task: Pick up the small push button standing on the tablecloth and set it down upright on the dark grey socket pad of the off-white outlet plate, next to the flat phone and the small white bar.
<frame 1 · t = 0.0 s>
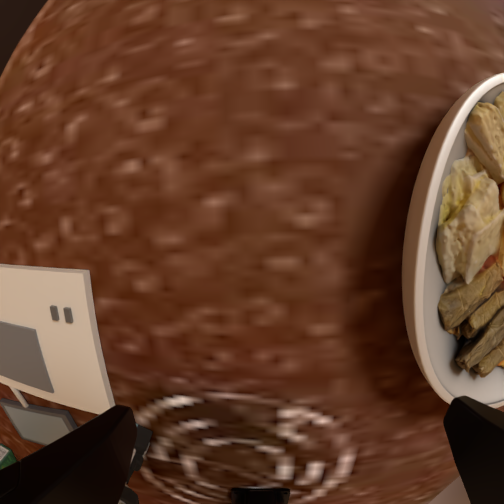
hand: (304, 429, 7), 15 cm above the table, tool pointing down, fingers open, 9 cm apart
phone slab: (43, 425, 26), on the table
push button: (134, 438, 25), on the table
outlet plate: (34, 336, 23), on the table
small white bar: (7, 373, 24), on the table
coffee box: (13, 458, 29), on the table
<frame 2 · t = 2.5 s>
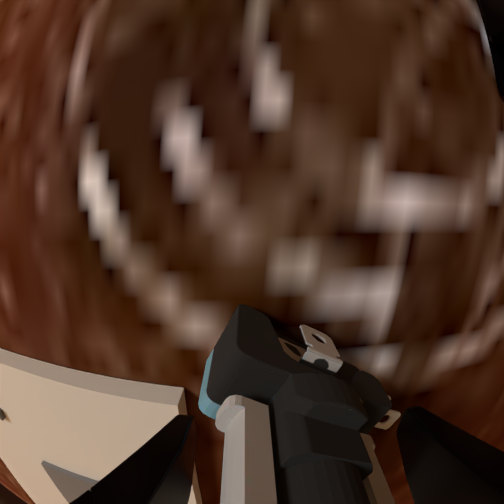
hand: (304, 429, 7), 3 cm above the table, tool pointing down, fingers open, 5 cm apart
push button: (304, 367, 9), on the table, touching gripper
outlet plate: (80, 472, 12), on the table
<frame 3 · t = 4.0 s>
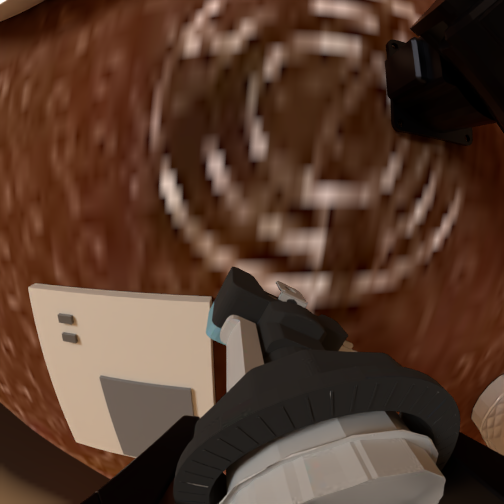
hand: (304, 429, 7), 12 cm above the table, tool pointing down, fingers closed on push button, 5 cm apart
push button: (281, 319, 13), point 6 cm above the table, touching gripper
white cup: (493, 397, 22), on the table
outlet plate: (126, 386, 21), on the table
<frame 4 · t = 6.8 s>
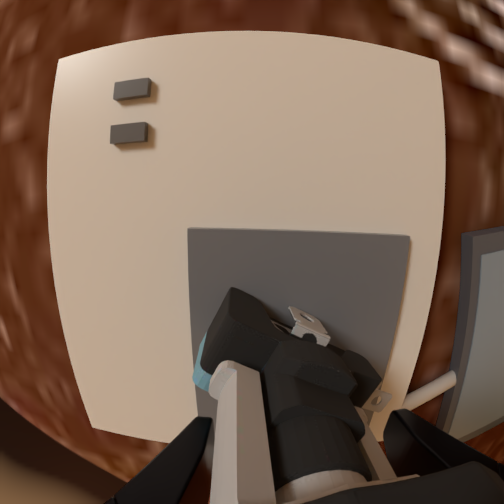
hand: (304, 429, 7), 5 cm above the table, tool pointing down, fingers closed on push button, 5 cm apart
phone slab: (496, 345, 11), on the table
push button: (294, 352, 10), point 1 cm above the table, touching gripper, outlet plate
outlet plate: (239, 267, 11), on the table
small white bar: (368, 414, 12), on the table
when the fingers open (5 cm above the table, at t = 6.8 s): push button stays where it is, resting on outlet plate.
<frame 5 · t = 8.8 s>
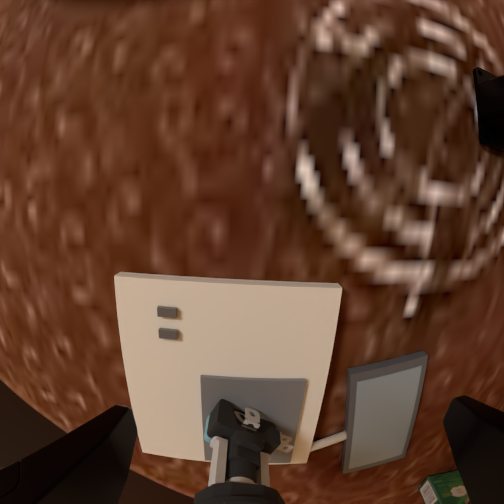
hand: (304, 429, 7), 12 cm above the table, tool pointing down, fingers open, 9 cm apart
phone slab: (380, 418, 22), on the table
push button: (250, 421, 20), point 1 cm above the table, touching outlet plate
outlet plate: (224, 385, 21), on the table
small white bar: (295, 448, 22), on the table
coffee box: (442, 476, 25), on the table
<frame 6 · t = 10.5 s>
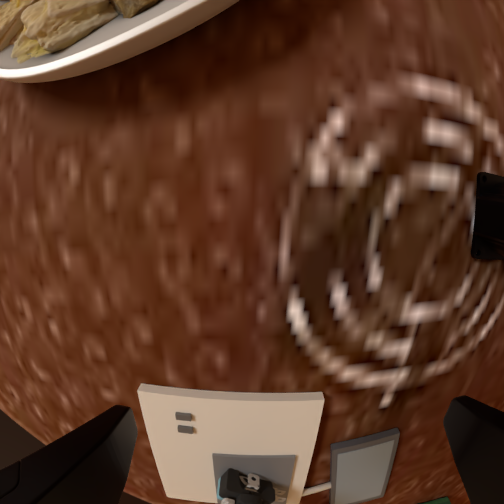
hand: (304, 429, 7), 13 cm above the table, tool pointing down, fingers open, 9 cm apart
phone slab: (360, 472, 24), on the table
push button: (252, 480, 23), point 1 cm above the table, touching outlet plate
outlet plate: (231, 456, 23), on the table
small white bar: (290, 493, 25), on the table
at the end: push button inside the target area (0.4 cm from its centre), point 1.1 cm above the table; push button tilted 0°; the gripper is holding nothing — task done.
